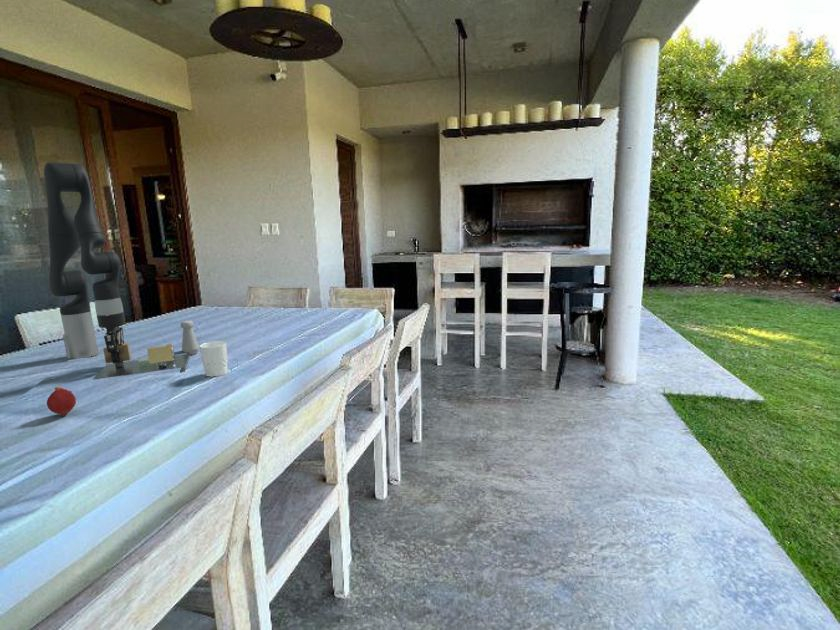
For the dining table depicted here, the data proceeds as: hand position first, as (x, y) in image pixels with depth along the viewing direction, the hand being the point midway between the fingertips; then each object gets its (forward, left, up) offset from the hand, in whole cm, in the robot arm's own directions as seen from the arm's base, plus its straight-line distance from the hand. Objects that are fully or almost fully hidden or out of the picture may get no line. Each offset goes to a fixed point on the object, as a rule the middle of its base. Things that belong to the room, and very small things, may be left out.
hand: (118, 360), depth 151 cm
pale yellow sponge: (+14, -8, -2) cm, 16 cm away
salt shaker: (+21, +11, -4) cm, 24 cm away
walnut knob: (0, 0, -2) cm, 2 cm away
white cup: (+31, -20, -4) cm, 37 cm away
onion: (-5, -38, -4) cm, 39 cm away
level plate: (+8, -3, -4) cm, 9 cm away
